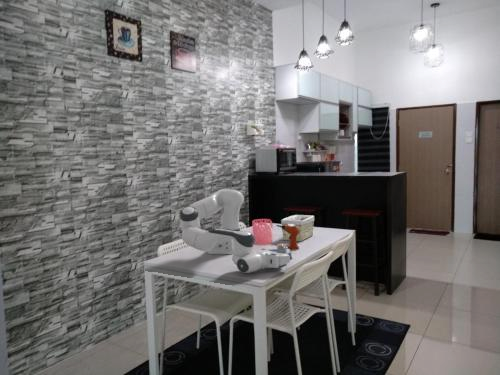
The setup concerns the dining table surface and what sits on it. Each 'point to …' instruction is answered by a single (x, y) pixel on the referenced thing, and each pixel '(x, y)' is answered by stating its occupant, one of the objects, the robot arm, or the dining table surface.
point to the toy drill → (291, 236)
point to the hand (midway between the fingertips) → (283, 253)
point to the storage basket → (299, 226)
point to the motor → (281, 250)
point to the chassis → (286, 251)
